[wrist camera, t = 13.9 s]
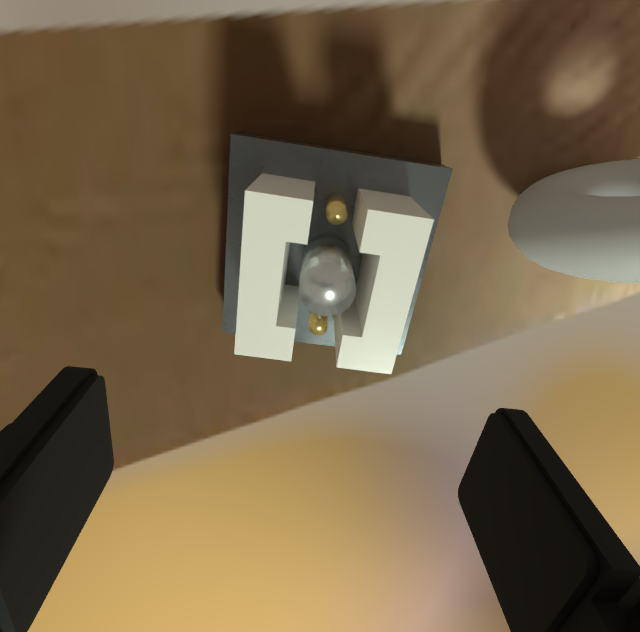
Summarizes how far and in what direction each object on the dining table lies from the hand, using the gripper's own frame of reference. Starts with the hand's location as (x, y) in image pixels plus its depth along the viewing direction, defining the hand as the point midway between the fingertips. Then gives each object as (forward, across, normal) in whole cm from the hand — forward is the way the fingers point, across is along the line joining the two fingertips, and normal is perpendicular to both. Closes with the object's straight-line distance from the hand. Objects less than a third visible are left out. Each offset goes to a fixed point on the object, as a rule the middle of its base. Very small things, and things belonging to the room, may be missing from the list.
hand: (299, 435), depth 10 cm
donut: (+15, -14, -5) cm, 22 cm away
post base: (+16, -1, 0) cm, 16 cm away
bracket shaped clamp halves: (+14, -1, 0) cm, 14 cm away
